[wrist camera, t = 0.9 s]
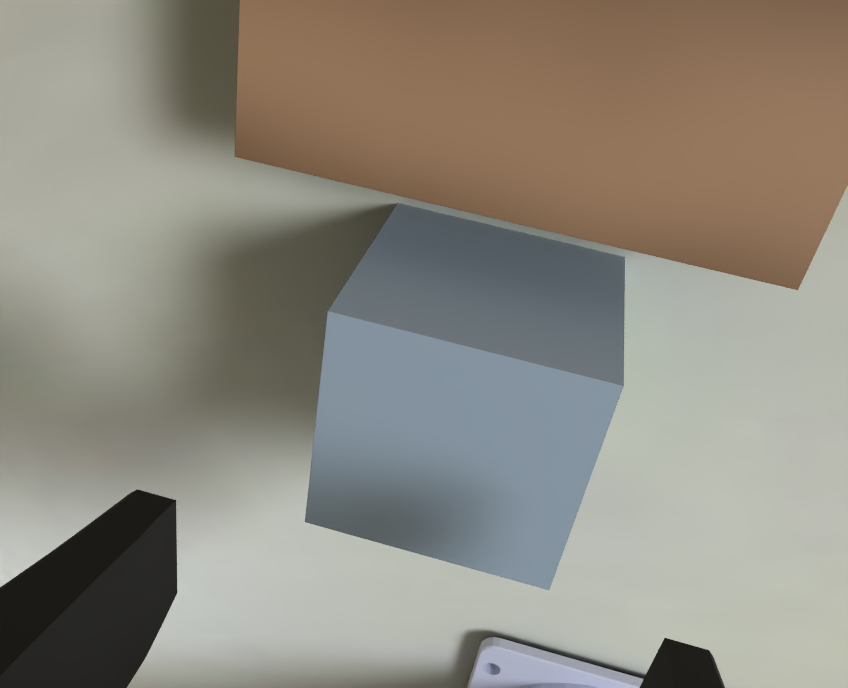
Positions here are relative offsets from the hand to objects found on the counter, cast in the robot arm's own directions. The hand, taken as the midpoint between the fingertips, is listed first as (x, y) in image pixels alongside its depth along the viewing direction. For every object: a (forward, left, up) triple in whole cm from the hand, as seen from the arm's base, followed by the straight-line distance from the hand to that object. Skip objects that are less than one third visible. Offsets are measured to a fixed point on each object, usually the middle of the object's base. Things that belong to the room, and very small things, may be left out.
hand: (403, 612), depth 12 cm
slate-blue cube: (0, 0, -8) cm, 8 cm away
